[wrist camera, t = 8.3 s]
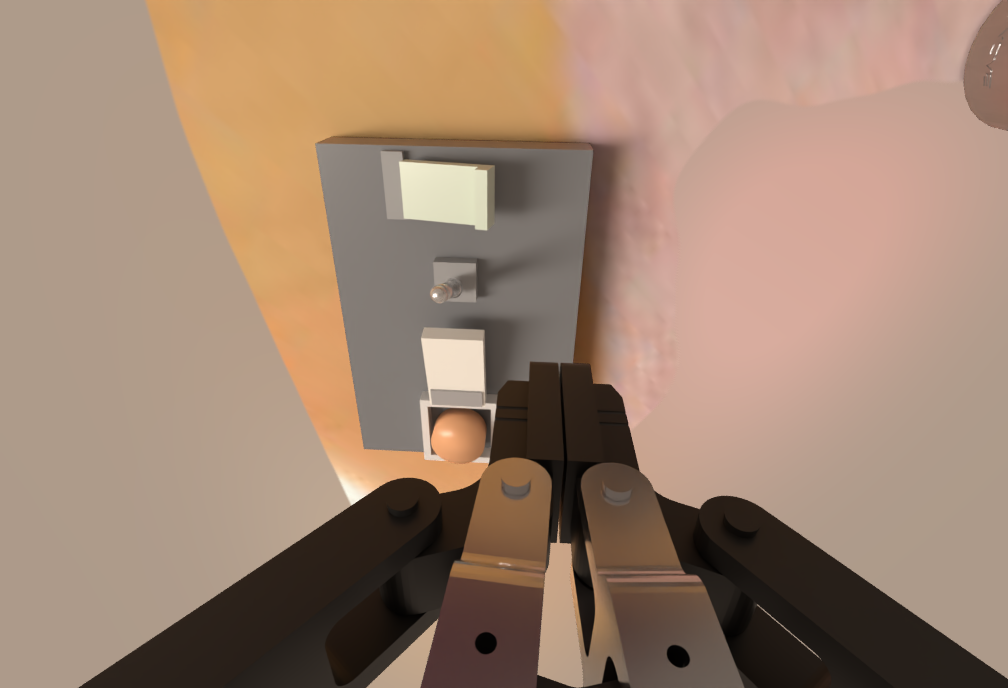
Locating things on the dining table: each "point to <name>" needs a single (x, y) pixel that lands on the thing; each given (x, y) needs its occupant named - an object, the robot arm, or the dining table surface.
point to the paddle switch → (448, 192)
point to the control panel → (452, 272)
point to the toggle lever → (446, 290)
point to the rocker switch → (455, 366)
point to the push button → (459, 435)
